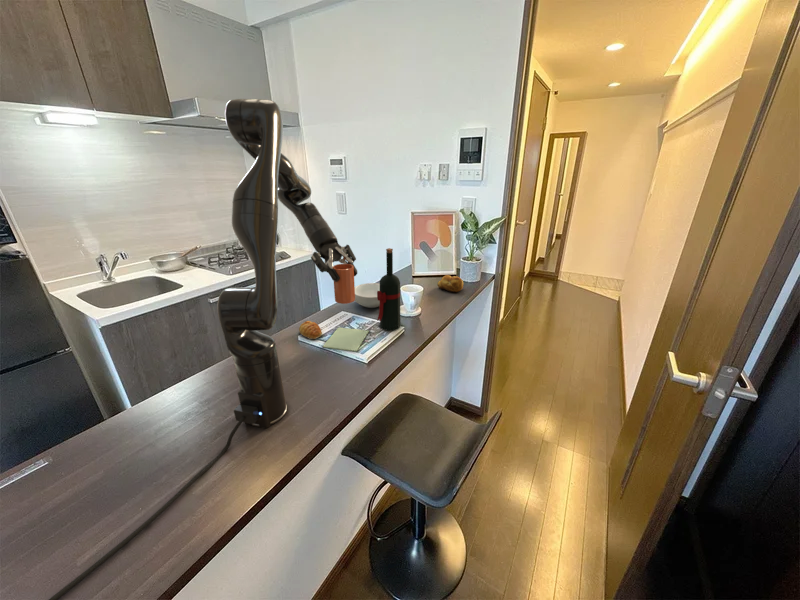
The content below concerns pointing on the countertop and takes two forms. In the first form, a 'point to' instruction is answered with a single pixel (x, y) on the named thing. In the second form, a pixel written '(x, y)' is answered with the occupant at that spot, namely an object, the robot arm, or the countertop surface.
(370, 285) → the cereal bowl
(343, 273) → the cup
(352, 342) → the board
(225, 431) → the countertop surface
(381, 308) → the wine bottle
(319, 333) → the pastry
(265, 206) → the robot arm
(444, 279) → the bread roll
